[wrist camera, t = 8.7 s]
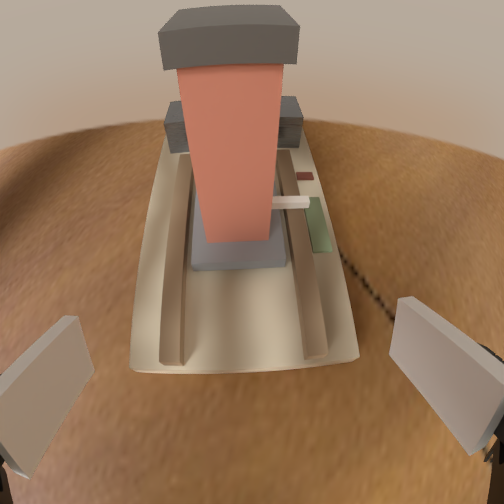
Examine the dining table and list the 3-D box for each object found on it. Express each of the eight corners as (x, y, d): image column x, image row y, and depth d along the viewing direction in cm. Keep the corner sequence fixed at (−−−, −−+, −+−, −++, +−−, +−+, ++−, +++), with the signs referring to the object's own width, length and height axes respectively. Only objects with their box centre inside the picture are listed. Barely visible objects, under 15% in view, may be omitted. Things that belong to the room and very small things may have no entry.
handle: (193, 271, 19) (132, 44, 7) (198, 192, 23) (170, 8, 11) (311, 265, 20) (376, 44, 7) (296, 188, 23) (322, 6, 11)
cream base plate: (137, 372, 17) (121, 364, 15) (168, 142, 29) (164, 121, 27) (352, 361, 18) (366, 352, 15) (300, 136, 30) (302, 115, 27)
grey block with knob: (170, 153, 26) (161, 112, 22) (175, 129, 28) (168, 91, 24) (299, 147, 26) (305, 106, 22) (292, 124, 28) (296, 86, 24)
